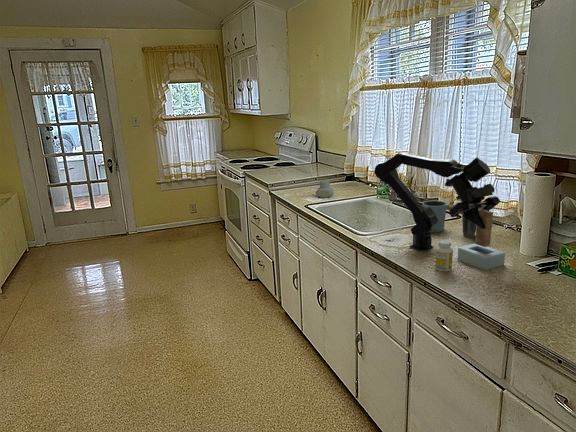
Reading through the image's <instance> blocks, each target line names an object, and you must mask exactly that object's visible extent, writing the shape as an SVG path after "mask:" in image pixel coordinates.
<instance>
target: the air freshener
mask: <svg viewBox="0 0 576 432" xmlns="http://www.w3.org/2000/svg"><path fill="white" fill-rule="evenodd" d="M334 193H335V192H334V189H333V188H332V187H331V186H330V180H328V179H322V180H320V181H319V187H318V188H317V189H316V190H315V194H316V196H317V197H319V198H321V199H327V198H331V197H332V196H333V195H334Z"/></svg>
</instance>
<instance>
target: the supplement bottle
mask: <svg viewBox="0 0 576 432" xmlns="http://www.w3.org/2000/svg"><path fill="white" fill-rule="evenodd" d="M435 249H436V250H435V266H434V267H435V269H436V270H438V271H440V272H449V271H452V268H453V256H454V255H453V254H454V253H453V252H454V249H453V248H452V241H450V240H446V239H441V240H439V241H438V246H437V247H436V248H435Z"/></svg>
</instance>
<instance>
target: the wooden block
mask: <svg viewBox="0 0 576 432" xmlns="http://www.w3.org/2000/svg"><path fill="white" fill-rule="evenodd" d="M478 213H479V215H480V217H481V219H482V221H483V223H484V225H485V228H484V229H482V228H481V227H479V226H478V225H477V226H476V232H475V240H474V241H475V242H474V243H475V244H477V245H480V246H483V247H490V246H491V240H492V239H491V238H492V226H493V219H494V218H493V216H494V212H493V211H491V210H489V211H487V210H478Z"/></svg>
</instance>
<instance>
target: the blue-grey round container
mask: <svg viewBox="0 0 576 432" xmlns="http://www.w3.org/2000/svg"><path fill="white" fill-rule="evenodd" d="M421 205H422V206H423V207H425V208H428V207H431V209H432V210H433V212H434V213H436V214H437V215H436V217H437V218H438V223H437V225H436V226H435V227H433V229H432V230H431V231H429V232H430V233H440V232H443V231H444V230H445V223H446V216H447V213H446V212H447V207H448V202H446V201H443V200H437V199H436V200H433V199H432V200H425V201H423V202H422V204H421Z"/></svg>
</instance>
